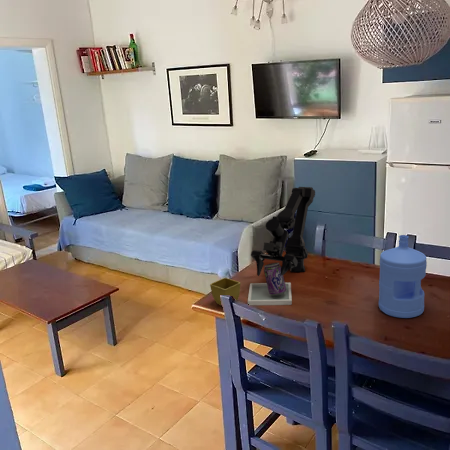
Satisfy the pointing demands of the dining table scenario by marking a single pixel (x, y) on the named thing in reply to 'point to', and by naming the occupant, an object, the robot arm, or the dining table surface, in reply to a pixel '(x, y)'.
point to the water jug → (402, 280)
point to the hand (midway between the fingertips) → (268, 277)
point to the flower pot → (225, 289)
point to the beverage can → (274, 279)
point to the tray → (268, 295)
